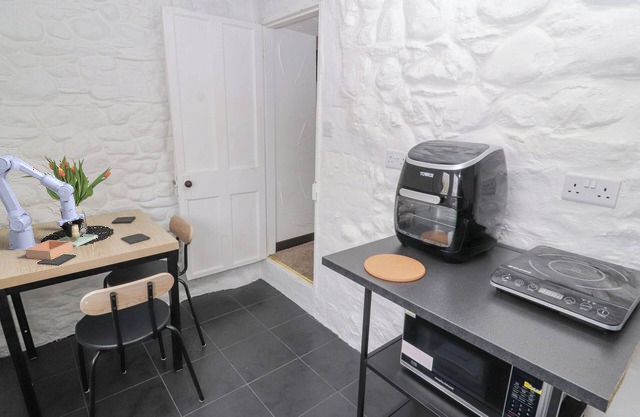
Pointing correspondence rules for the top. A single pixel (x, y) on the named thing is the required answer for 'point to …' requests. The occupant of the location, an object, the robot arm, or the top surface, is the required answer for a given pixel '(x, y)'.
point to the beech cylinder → (75, 232)
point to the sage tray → (80, 239)
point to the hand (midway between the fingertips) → (73, 235)
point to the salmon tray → (49, 249)
